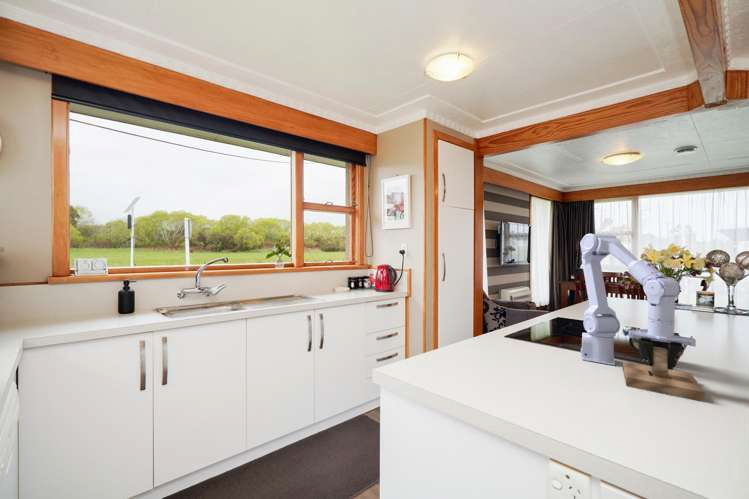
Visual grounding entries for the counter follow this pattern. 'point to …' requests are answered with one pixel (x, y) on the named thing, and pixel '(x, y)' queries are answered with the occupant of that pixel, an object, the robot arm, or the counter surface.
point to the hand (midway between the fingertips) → (659, 366)
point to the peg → (659, 362)
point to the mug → (642, 349)
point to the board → (663, 382)
